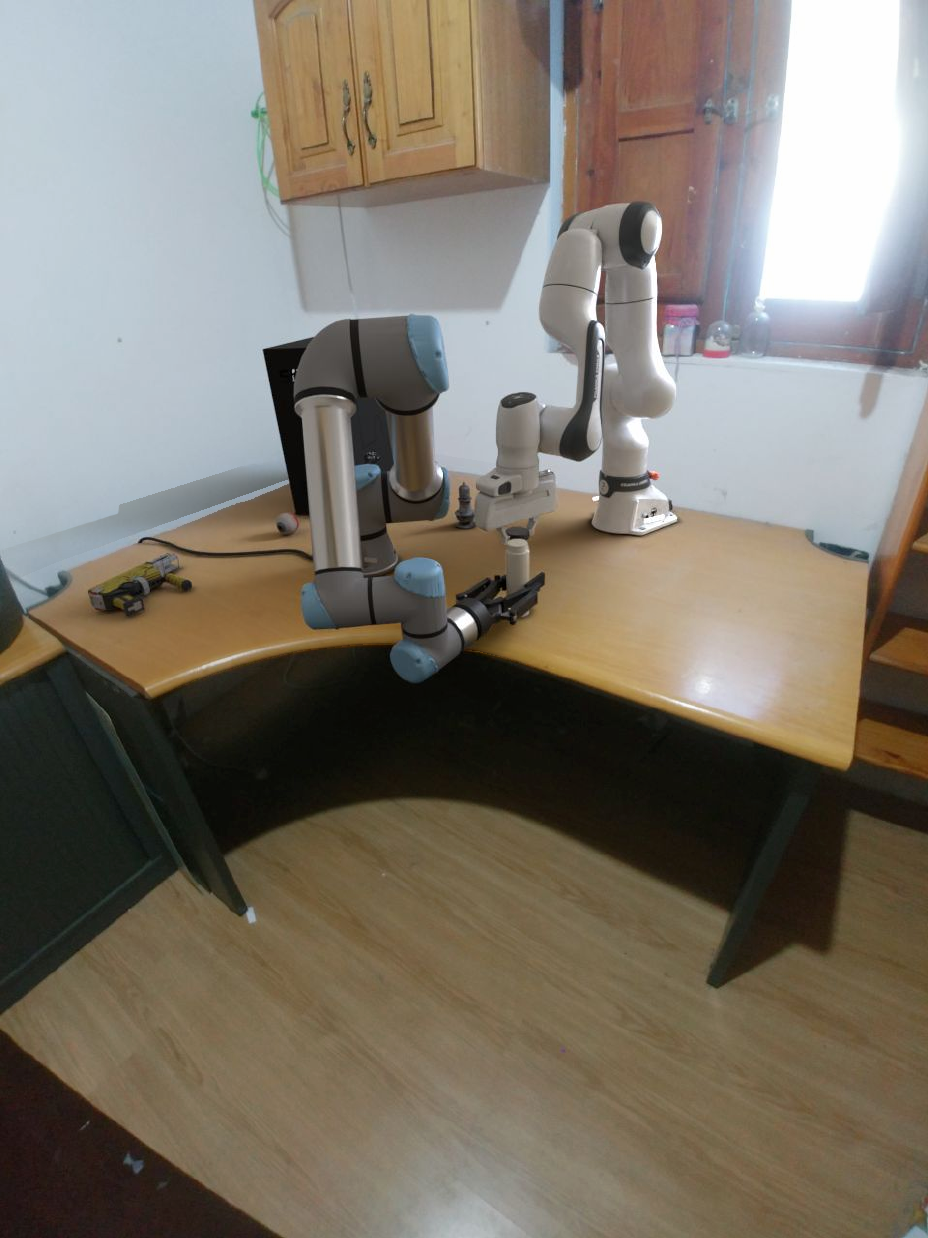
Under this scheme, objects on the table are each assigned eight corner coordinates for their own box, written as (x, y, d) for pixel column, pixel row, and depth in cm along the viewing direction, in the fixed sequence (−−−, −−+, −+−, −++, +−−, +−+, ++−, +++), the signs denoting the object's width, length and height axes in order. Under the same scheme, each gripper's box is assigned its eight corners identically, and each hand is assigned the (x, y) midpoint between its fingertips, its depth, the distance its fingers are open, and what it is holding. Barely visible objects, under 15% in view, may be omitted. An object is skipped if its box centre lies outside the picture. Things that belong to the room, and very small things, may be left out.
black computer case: (359, 516, 174) (334, 346, 152) (295, 513, 179) (262, 349, 156) (400, 477, 206) (384, 331, 183) (345, 476, 210) (323, 334, 188)
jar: (533, 609, 122) (533, 540, 115) (522, 619, 119) (522, 548, 111) (513, 604, 124) (512, 536, 117) (502, 614, 121) (500, 544, 113)
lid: (503, 542, 129) (503, 535, 129) (506, 533, 134) (506, 526, 133) (528, 543, 129) (528, 535, 128) (529, 533, 133) (530, 526, 132)
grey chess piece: (474, 529, 161) (472, 485, 155) (453, 528, 162) (450, 485, 156) (478, 521, 166) (476, 478, 160) (457, 520, 167) (455, 478, 161)
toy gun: (216, 561, 144) (165, 550, 148) (137, 604, 124) (81, 590, 128) (219, 578, 146) (168, 567, 150) (142, 623, 126) (86, 609, 130)
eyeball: (273, 537, 164) (268, 516, 161) (287, 528, 169) (282, 508, 166) (291, 539, 161) (286, 518, 158) (305, 530, 166) (301, 510, 163)
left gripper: (426, 629, 113) (496, 581, 129) (504, 657, 103) (570, 602, 119) (422, 594, 109) (495, 549, 125) (503, 620, 100) (571, 568, 115)
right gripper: (545, 464, 132) (543, 524, 139) (469, 483, 122) (471, 546, 129) (565, 470, 127) (562, 532, 134) (487, 490, 117) (488, 555, 124)
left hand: (531, 575), depth 122 cm, fingers closed on jar, 5 cm apart
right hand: (517, 539), depth 131 cm, fingers closed on lid, 5 cm apart
